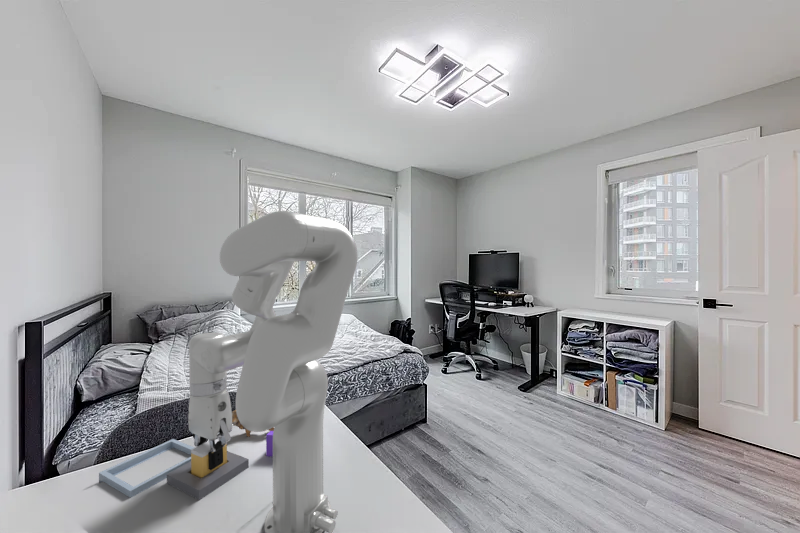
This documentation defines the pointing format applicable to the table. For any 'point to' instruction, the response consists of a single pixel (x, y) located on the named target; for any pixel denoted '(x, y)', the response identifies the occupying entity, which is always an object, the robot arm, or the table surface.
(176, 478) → the block
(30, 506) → the table surface
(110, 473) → the tray
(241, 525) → the table surface
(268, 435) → the purple rectangular block
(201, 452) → the block
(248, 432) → the lion figurine
